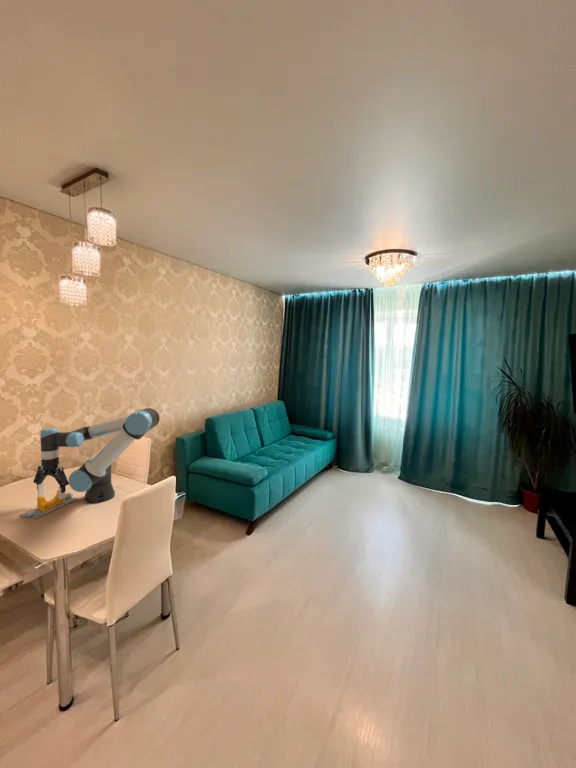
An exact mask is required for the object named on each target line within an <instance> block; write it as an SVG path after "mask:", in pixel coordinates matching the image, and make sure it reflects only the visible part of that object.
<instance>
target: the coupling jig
mask: <svg viewBox="0 0 576 768" xmlns="http://www.w3.org/2000/svg"><path fill="white" fill-rule="evenodd" d="M78 499H79V498H78V497H73V492H72V491H68V492H65V498H64V502H62V503H59V504H57V505H56V506H55V507H53V508H50V509H48V510H45V511H40V510H37V507H36V508H30V509H27V510H26V511H25V512H24V513H23V514H20V515H19V517H20V518H27V519H33V520H38V519H40V518H42V517H44V516H46V515H48V514H51V513H53V512H54V511H57V510H59V509H61V508H63V507H66V506H67V505H69V504H71V503H73V502H75V501H78Z"/></svg>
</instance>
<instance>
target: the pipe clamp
mask: <svg viewBox="0 0 576 768" xmlns="http://www.w3.org/2000/svg"><path fill="white" fill-rule="evenodd" d="M36 500H37V501H36V502H37V503H36V504H37V506H36V508H37V510H40V511H45V510H48V509H50V508H53V507H55V506H56V505H57V504H59V503H62V502H64V498H63V499H59V489H58V490H57V491H56V494H55V496H54V497H52V498H51V499H50V500H46V498H45V496H44V495H43V496H40V497H38V496H37V498H36Z"/></svg>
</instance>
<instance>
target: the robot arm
mask: <svg viewBox="0 0 576 768" xmlns="http://www.w3.org/2000/svg"><path fill="white" fill-rule="evenodd" d="M160 418H161V417H160V413H159V412H158V411H157V410H156V409H154V408H151V407H148V408H147V407H146V408H142V409H140V410H136V411H134V412H132V413H130V414H129V415H127V416H125V417H124V416H123V417H120V418H119V417H118V418H115V419H112V420H111V419H110V420H108V421H104V422H99V423H96V424H92V425H89V426H87V425H86V426H83V427H80V428H78V429H74V430H72V431H68V432H67V431H66V432H63V431H62V432H59V429H58V427H49V428H43V429H41V430H40V437H39V439H40V458H41V459H40V460H41V461H40V463H41V465H39V466H37V471H36V474H35V475H34V479H33V481H32V483H33V484H36V491H37V497H40V496H43V497H44V495H45V488H44V487H45V486H44V480H45V479H46V478H47V476H48V477H52V478H54V480H55V481H56V482H57V485H59V486H58V490H59V499H63V498H65V494H66V486H68V485H69V486H70V488H71V489H72V490H73V491H75V492H78V493H83V492H85V494H84V498H83V499H84V501H85V502H86V503H92V504H95V503H96V504H97V503H101V502H107V501H110V500H112V499H113V498H114V497H115V495H116V491H115V489H114V486H113V483H112V465H113V463H114V462H115V461H116V460H118V458H119V457H120V456H121V455H122V454H123V453H124V452H125V451H126V450H127V449H128V448H129V447H130V446H131V445H132V444H133V443H134V442H135V440H137V441H138V440H139V441H140V440H141V439H142V438H143V437H144V436H145V435H146V434H147V433H148V432H149V431H150V430H152V429H154V428H155V427H157V426H158V424H159V423H160ZM114 434H116V435H115V436H114V437H113V438H112V439H111V440H109V442H108V443H106V445H105V446H104V447H103V448H102V449H101V450H100V451H99V452H98V453H97V454H96V455H95V456H94V457H90V458H89V459H87V460H86V461H85V462H83V464H82V465H81V466H80V467H79V468H78V469H77V470H74V471H73V472H72V473H71V474H70V475H69V476H68V478H67V475H66V472H65V471H64V469H65V468H64V467H63V466H60V467H59V464H60V458H59V456H60V449H59V447H61V448H63V447H64V448H75V447H76V448H77V447H81V446H82V444H83V443H84V442H86V441H89V440H94V439H96V438H101V437H105V436H109V435H114Z"/></svg>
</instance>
